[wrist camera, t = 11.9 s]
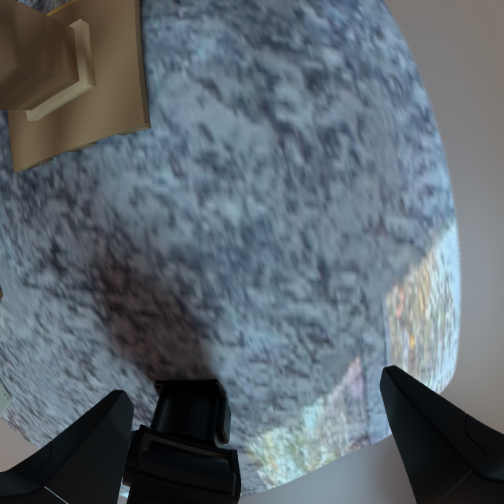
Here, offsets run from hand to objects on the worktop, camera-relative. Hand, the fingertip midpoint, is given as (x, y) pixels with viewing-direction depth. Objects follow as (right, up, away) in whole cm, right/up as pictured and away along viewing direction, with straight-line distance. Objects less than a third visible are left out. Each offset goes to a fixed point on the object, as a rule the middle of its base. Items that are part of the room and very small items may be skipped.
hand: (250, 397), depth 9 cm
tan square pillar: (-13, +17, +5) cm, 22 cm away
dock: (-13, +18, +7) cm, 23 cm away
